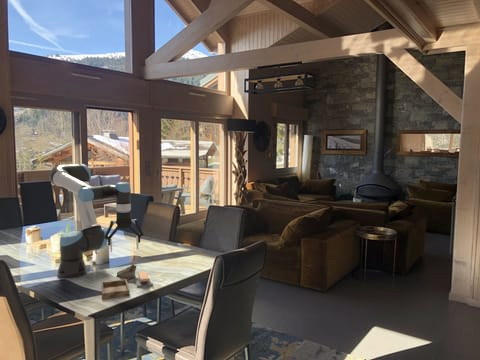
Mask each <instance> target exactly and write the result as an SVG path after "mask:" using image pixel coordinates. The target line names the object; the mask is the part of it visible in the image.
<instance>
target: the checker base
mask: <svg viewBox="0 0 480 360" xmlns="http://www.w3.org/2000/svg"><path fill="white" fill-rule="evenodd" d="M148 277H149V281H142V282H141V281H140V278H139V277H134V281H135V286H136V288H137V289H139V287H140V288H146V287H147V286H148V287H154V283H153V280H152V278H151V276H150V274H148Z"/></svg>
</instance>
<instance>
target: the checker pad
mask: <svg viewBox="0 0 480 360" xmlns="http://www.w3.org/2000/svg"><path fill="white" fill-rule="evenodd" d="M137 275H138V278H140V281H141V282H142V281H149V277H148V275H149V274H148V272H147V271H140V272H139V271H138V272H137Z"/></svg>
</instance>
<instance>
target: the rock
mask: <svg viewBox="0 0 480 360" xmlns="http://www.w3.org/2000/svg"><path fill="white" fill-rule="evenodd" d="M137 267H138V266H137V265H135V264H134V263H133V264H131V265H130V266H128V267H126V268H125V269H121V270H119V271H117V272H116V277H115V278H118V279H120V280H124V279H127V281H128V280H131V279H132V278H133V277H134V276H135V275H136V270H137Z"/></svg>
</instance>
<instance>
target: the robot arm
mask: <svg viewBox="0 0 480 360" xmlns="http://www.w3.org/2000/svg"><path fill="white" fill-rule="evenodd" d="M48 177H49V179H50V180H49V181H50V182H51V183H52V184H53V185H55V186H56V187H62V188H64V189H66V190H68V191H69V192H71V193H73V197H74V200H75V204H76V207H77V211H78V216H79V220H80V223H81V227H82V228H81V229H80V230H73V231H68V232H66V233H63V234H62V235H61V236H60V238H59V249H60V250H59V251H60V253H59V254H60V263H59V266H58V269H57V277H59V278H63V279H72V278H78V277H82V276H83V275H85V274H86V273H87V272H88V270H87V266H86V263H85V260H84V254H86V253H89V252H93V251H98V250H100V249H104V248H105V247H107V245H108V246H110V247H109V249H110V253H113V239H112V238H113V237H114V236H115V234H117V232H118V231H119V230H120V229H128V228H129V229H130V230H131V231H132V232H133V233H134V234H135V236H136V237H135V241H136V245H135V246H136V249H137V250H139V243H141V237H143V236H144V232H143V231H142V228H141V227H140V225H139V224H138V219H137V218H135V219H132V211H131V210H132V204H131V203H132V200H131V199H132V198H131V197H132V196H131V195H132V193H131V192H132V189H131V184H130V182H125V181H121V182H116V183H115V184H110V183H109V184H105V185H97V186H95V185H94V186H92V185H90V182H91V180H92V171H91V169H90V168H89V166H88V165H86V164H84V163H75V164H58V165H56V166H54V167H52V169H51V170H50V172H49V175H48ZM111 199H113V200H115V203H116V204H115V206H116V207H115V208H116V214H115V215H116V217H115V219H116V220H110V221H109V225H108V228H107V229H105V228H102V225H100V223H98V220H97V217H96V213H95V209H94V205H93V202H96V201H105V200H111ZM132 223H133V224H134V225H135V226H136V228H137V230H138V231H137V230H136V229H135V228H134V227H133V226H132ZM115 224H116V227H115V228H114V229H113V226H115ZM112 229H113V230H112ZM110 232H111V233H110Z"/></svg>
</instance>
